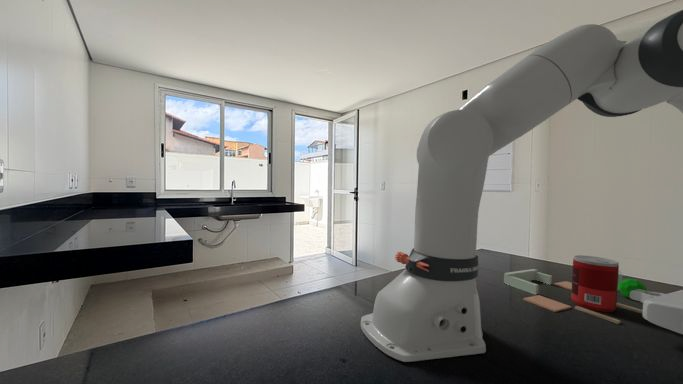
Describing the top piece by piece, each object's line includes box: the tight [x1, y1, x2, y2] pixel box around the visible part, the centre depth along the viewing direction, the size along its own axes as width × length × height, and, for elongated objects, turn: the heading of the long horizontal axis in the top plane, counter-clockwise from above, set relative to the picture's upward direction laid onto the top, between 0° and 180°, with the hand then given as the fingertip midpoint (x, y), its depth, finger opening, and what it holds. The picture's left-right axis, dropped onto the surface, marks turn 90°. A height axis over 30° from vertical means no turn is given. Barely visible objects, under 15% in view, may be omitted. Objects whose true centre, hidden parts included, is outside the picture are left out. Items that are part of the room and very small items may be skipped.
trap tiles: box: [522, 280, 572, 313], centre depth 72 cm, size 26×11×1 cm, turn 114°
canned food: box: [570, 254, 620, 313], centre depth 66 cm, size 8×8×11 cm
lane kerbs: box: [574, 302, 643, 325], centre depth 65 cm, size 13×12×1 cm
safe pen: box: [503, 268, 553, 296], centre depth 78 cm, size 13×9×3 cm
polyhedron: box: [618, 278, 648, 300], centre depth 72 cm, size 5×5×5 cm
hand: (633, 293), depth 60 cm, fingers closed
